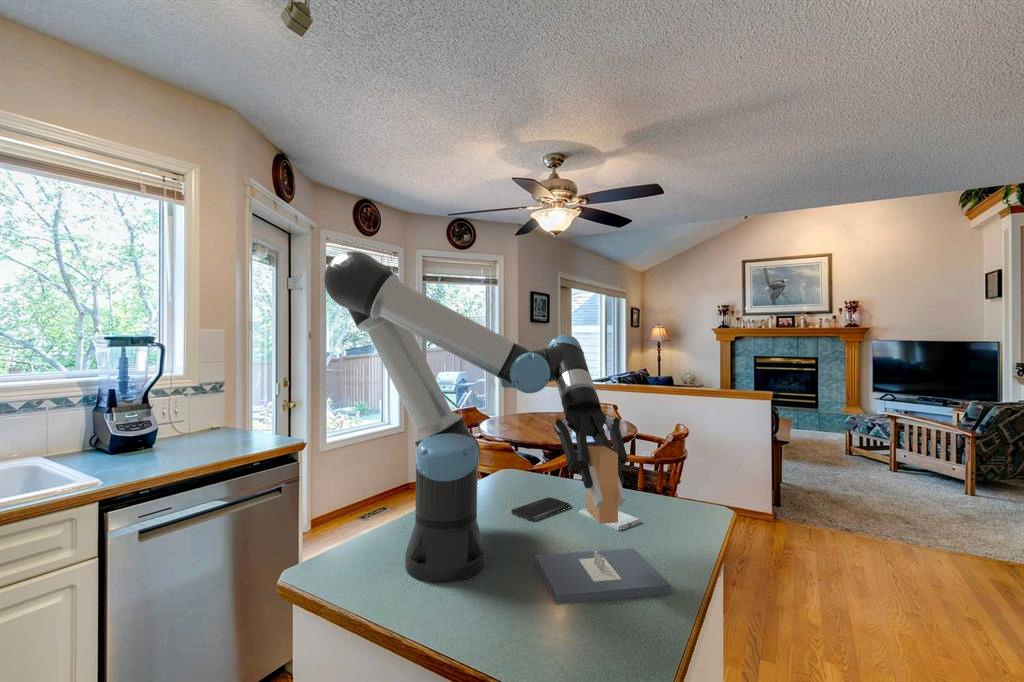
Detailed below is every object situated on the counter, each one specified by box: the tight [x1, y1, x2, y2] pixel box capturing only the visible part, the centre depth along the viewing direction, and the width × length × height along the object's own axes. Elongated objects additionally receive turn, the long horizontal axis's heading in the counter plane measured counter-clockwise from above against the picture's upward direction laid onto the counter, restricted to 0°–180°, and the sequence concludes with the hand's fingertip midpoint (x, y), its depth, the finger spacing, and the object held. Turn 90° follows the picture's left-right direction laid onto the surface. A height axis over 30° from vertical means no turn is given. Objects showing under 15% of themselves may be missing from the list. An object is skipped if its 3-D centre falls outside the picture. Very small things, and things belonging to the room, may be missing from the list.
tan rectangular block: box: [586, 445, 619, 525], centre depth 82 cm, size 3×6×12 cm, turn 11°
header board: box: [535, 547, 671, 606], centre depth 82 cm, size 20×14×4 cm
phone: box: [510, 497, 571, 522], centre depth 115 cm, size 8×1×15 cm
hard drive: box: [578, 507, 641, 531], centre depth 110 cm, size 2×8×12 cm
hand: (610, 503), depth 78 cm, fingers closed on tan rectangular block, 3 cm apart
